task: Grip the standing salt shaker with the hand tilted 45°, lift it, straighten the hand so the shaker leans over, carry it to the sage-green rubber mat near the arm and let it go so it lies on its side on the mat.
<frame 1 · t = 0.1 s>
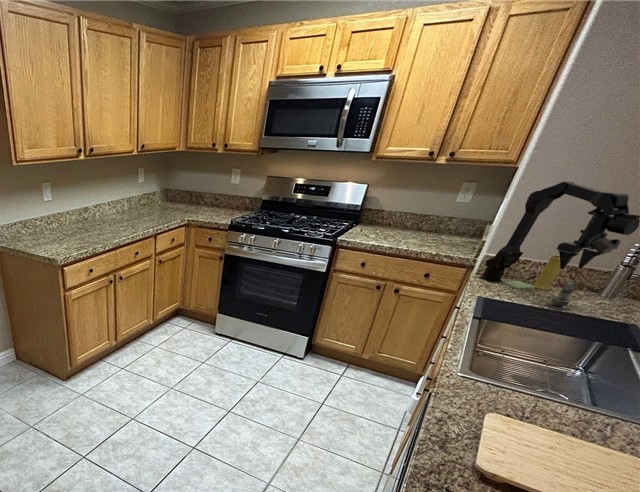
hand: (570, 268, 167), 15 cm above the worktop, tool pointing down, fingers open, 9 cm apart
mat: (517, 285, 192), on the worktop
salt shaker: (556, 307, 171), on the worktop
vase: (540, 288, 191), on the worktop
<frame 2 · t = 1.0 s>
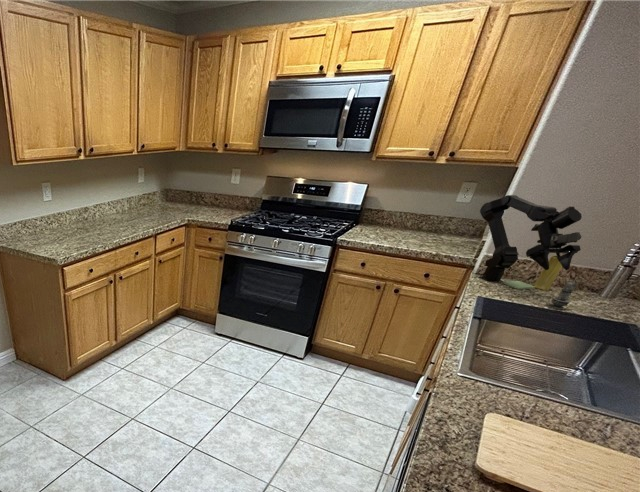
hand: (557, 269, 170), 13 cm above the worktop, tool tilted 45°, fingers open, 9 cm apart
nothing on the worktop moved.
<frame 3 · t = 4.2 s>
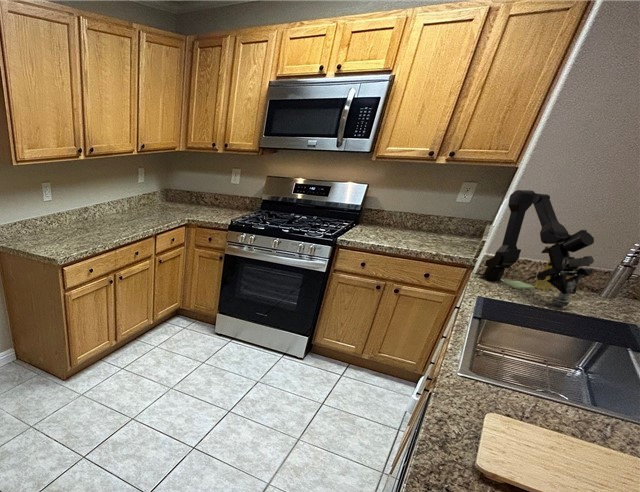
hand: (569, 293, 166), 7 cm above the worktop, tool tilted 45°, fingers closed on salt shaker, 3 cm apart
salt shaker: (556, 307, 171), on the worktop, touching gripper
everything else where it was.
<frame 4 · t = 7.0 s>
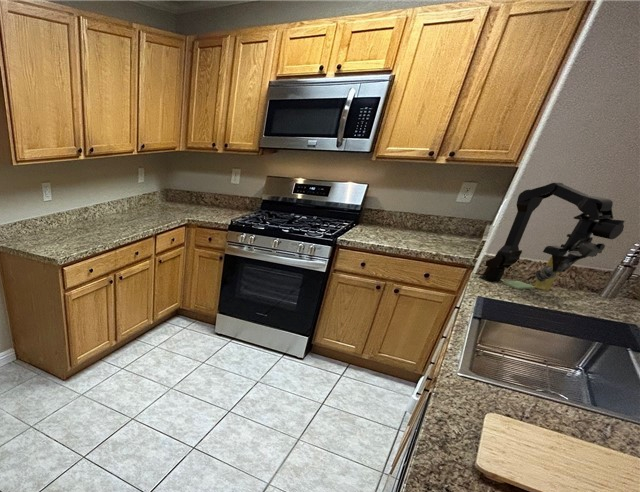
hand: (558, 271, 172), 12 cm above the worktop, tool pointing down, fingers closed on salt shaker, 3 cm apart
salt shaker: (540, 276, 179), point 8 cm above the worktop, touching gripper
everything else where it was.
when the fingers open (6 cm above the worktop, at t = 10.1 s): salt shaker moves 1 cm, resting on mat.
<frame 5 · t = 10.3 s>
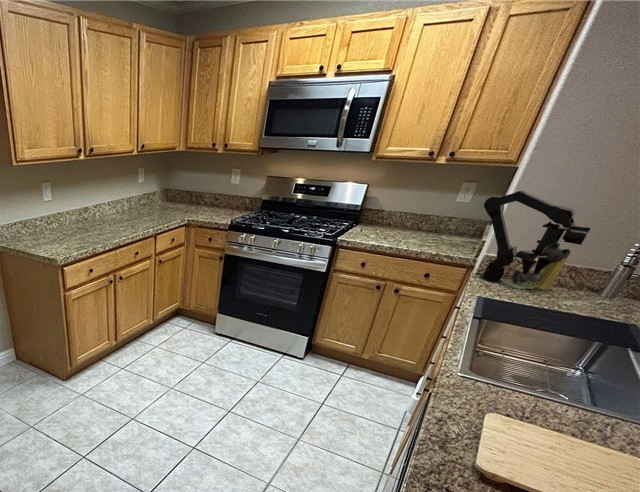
hand: (529, 274, 187), 6 cm above the worktop, tool pointing down, fingers open, 5 cm apart
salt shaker: (516, 276, 193), point 3 cm above the worktop, touching mat
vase: (540, 288, 191), on the worktop, touching gripper
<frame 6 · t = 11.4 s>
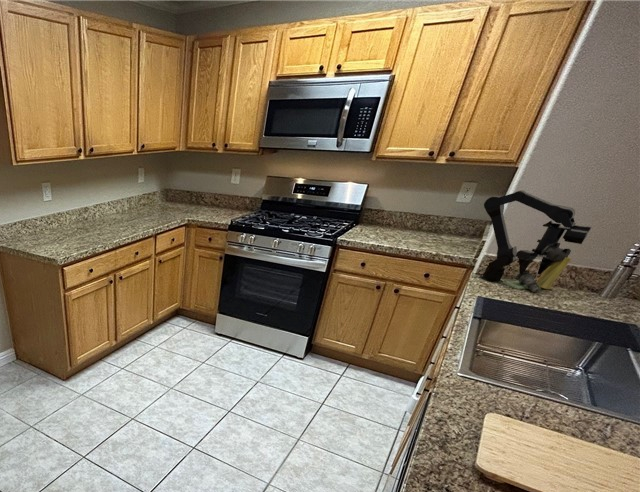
hand: (529, 274, 187), 6 cm above the worktop, tool pointing down, fingers open, 9 cm apart
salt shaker: (522, 274, 190), point 5 cm above the worktop, touching mat
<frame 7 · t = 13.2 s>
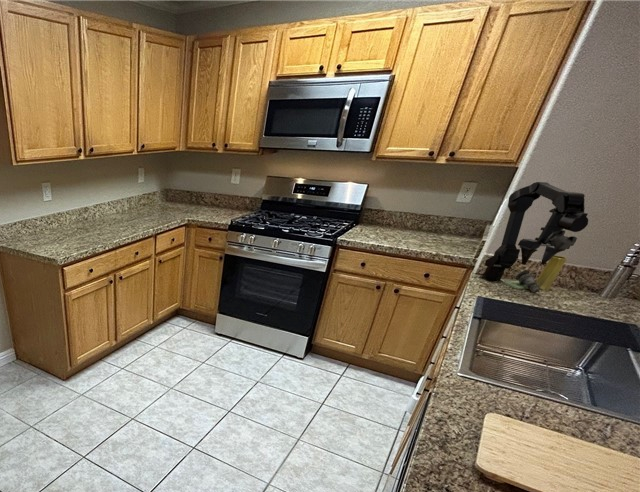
hand: (532, 264, 176), 13 cm above the worktop, tool pointing down, fingers open, 9 cm apart
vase: (540, 288, 191), on the worktop
everything else where it was.
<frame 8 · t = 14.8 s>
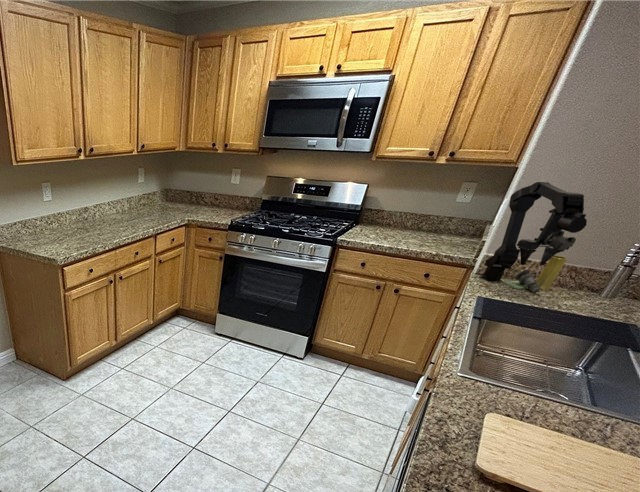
hand: (531, 264, 176), 13 cm above the worktop, tool pointing down, fingers open, 9 cm apart
nothing on the worktop moved.
at the end: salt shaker tilted 109°; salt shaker inside the target area on the mat (0.9 cm from its centre), point 4.9 cm above the mat's base; the gripper is holding nothing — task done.
